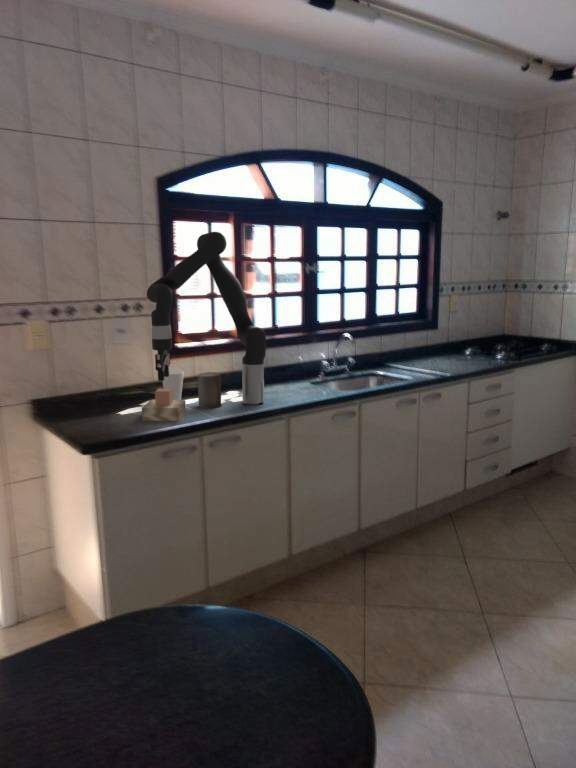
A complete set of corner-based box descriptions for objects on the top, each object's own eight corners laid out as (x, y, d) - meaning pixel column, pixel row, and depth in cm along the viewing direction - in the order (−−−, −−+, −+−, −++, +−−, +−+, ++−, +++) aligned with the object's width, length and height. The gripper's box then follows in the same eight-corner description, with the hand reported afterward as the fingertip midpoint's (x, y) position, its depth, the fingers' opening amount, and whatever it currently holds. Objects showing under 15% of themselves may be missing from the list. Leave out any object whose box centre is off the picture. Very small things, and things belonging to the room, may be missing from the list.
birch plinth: (185, 412, 232) (185, 400, 231) (178, 420, 218) (178, 408, 217) (151, 411, 232) (150, 399, 231) (142, 420, 219) (141, 407, 218)
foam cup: (162, 404, 245) (161, 374, 243) (161, 399, 254) (160, 370, 252) (185, 403, 248) (184, 373, 245) (183, 398, 257) (182, 370, 254)
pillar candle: (225, 404, 246) (224, 369, 244) (214, 409, 238) (213, 373, 235) (205, 402, 250) (204, 368, 247) (194, 407, 241) (192, 372, 238)
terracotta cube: (172, 402, 227) (172, 388, 226) (169, 405, 222) (169, 391, 221) (158, 402, 227) (158, 388, 226) (155, 405, 222) (155, 391, 221)
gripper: (167, 339, 212) (169, 382, 215) (175, 334, 226) (177, 375, 229) (147, 339, 212) (149, 382, 215) (156, 335, 226) (158, 375, 229)
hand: (163, 378), depth 222 cm, fingers open, 8 cm apart
